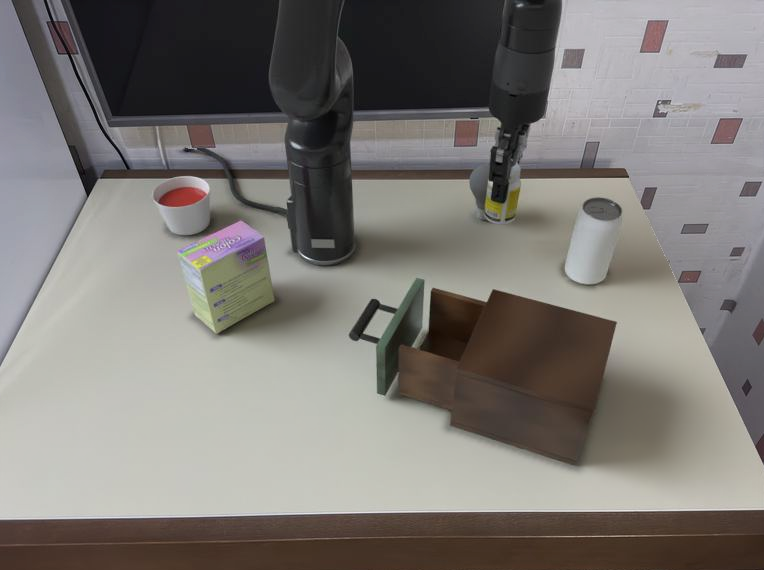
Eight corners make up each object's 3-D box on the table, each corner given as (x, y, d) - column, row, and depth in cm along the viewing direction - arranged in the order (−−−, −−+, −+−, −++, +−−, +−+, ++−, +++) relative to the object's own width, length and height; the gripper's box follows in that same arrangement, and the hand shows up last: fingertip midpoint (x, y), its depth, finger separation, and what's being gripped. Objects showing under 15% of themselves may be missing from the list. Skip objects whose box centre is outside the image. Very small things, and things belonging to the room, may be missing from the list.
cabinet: (449, 425, 84) (456, 367, 77) (484, 347, 94) (492, 288, 86) (574, 465, 81) (594, 409, 73) (597, 379, 90) (617, 321, 82)
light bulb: (463, 208, 117) (468, 156, 110) (496, 206, 118) (504, 155, 110) (469, 228, 113) (474, 176, 106) (504, 227, 114) (512, 174, 106)
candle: (200, 244, 109) (192, 211, 104) (151, 234, 111) (141, 201, 106) (226, 213, 115) (219, 181, 110) (178, 204, 117) (170, 172, 112)
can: (605, 289, 103) (625, 224, 94) (563, 283, 104) (579, 218, 95) (605, 262, 107) (624, 198, 99) (564, 257, 108) (580, 193, 99)
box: (252, 283, 103) (240, 218, 94) (275, 301, 100) (265, 236, 91) (193, 315, 97) (175, 250, 89) (216, 335, 95) (199, 270, 86)
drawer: (339, 381, 88) (335, 333, 81) (380, 315, 97) (379, 267, 90) (485, 428, 83) (493, 380, 77) (514, 354, 92) (523, 306, 85)
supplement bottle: (512, 207, 104) (521, 158, 98) (517, 225, 100) (526, 176, 94) (481, 206, 103) (488, 157, 97) (485, 225, 100) (492, 175, 94)
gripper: (508, 51, 92) (492, 162, 104) (477, 95, 83) (463, 211, 95) (562, 61, 90) (539, 173, 103) (536, 107, 81) (515, 224, 93)
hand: (503, 191), depth 99 cm, fingers closed on supplement bottle, 4 cm apart
